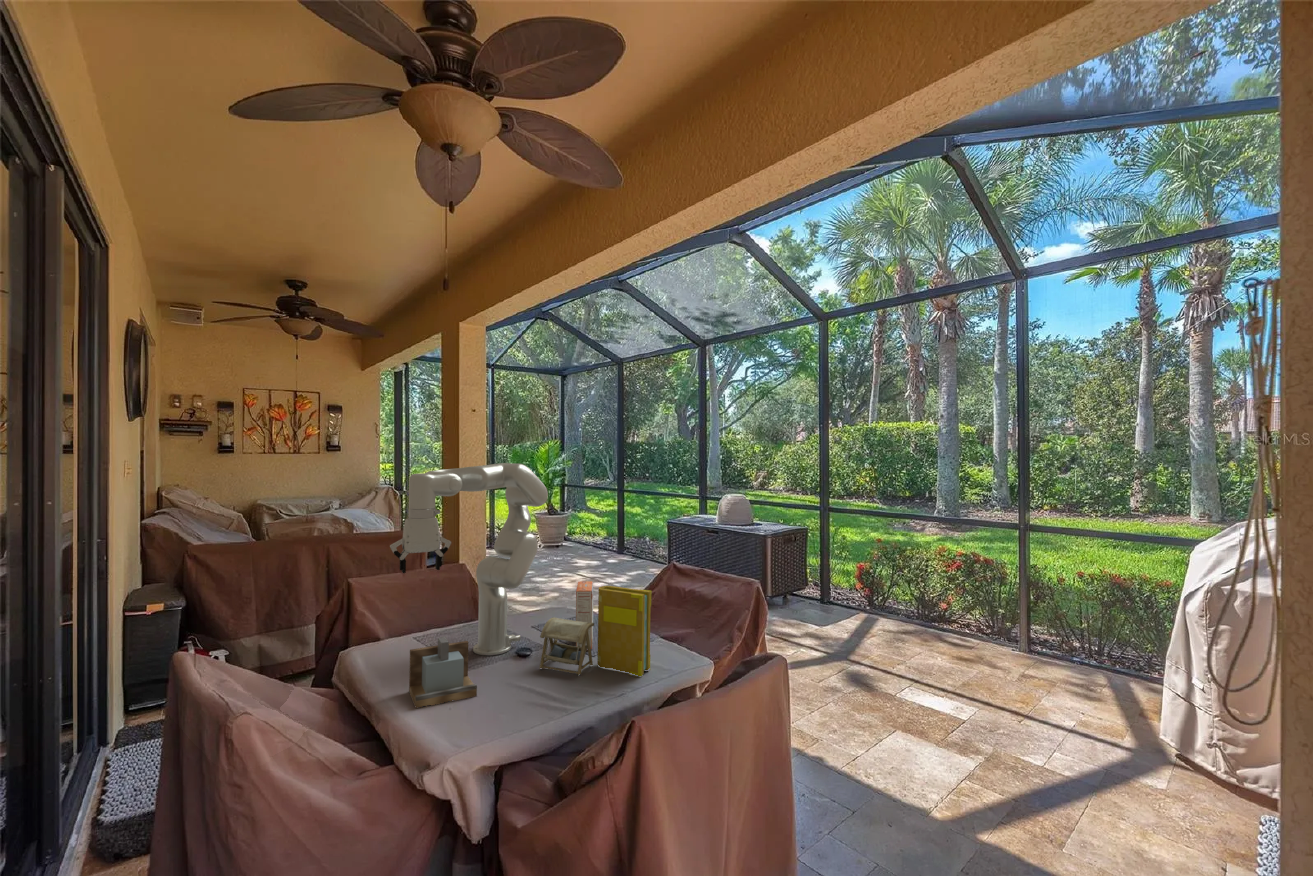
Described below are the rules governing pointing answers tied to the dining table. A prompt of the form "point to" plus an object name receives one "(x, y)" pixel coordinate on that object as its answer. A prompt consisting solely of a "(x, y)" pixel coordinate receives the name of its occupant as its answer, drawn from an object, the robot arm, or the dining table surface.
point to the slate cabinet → (442, 669)
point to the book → (624, 629)
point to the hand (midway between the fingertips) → (420, 570)
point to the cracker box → (585, 606)
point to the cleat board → (445, 695)
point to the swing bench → (566, 653)
